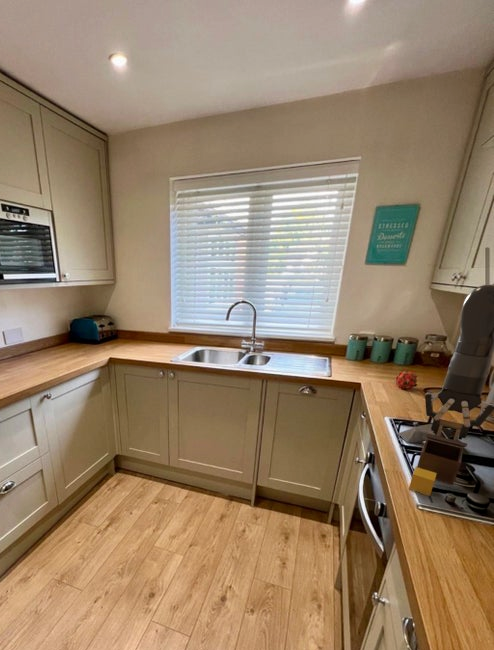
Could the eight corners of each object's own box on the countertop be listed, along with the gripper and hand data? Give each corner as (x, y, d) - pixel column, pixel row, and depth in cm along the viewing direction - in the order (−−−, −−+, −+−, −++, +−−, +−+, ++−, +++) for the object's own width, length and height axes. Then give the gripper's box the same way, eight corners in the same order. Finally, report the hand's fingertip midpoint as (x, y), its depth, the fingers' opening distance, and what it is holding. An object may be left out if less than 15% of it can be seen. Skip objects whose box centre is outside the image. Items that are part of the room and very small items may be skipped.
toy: (431, 487, 83) (436, 473, 82) (429, 496, 80) (434, 480, 78) (411, 481, 86) (415, 466, 84) (408, 489, 83) (412, 474, 81)
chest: (453, 485, 84) (460, 463, 82) (415, 473, 89) (421, 452, 87) (455, 468, 91) (463, 447, 89) (420, 458, 96) (426, 438, 94)
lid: (466, 446, 80) (473, 425, 80) (426, 436, 85) (432, 416, 85) (463, 447, 89) (469, 428, 89) (426, 438, 94) (431, 420, 94)
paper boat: (396, 439, 105) (389, 421, 112) (403, 453, 107) (396, 434, 114) (440, 427, 98) (431, 409, 105) (447, 442, 101) (437, 423, 108)
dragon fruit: (405, 387, 161) (404, 397, 153) (391, 375, 163) (389, 385, 154) (421, 376, 156) (421, 386, 147) (406, 364, 157) (405, 373, 148)
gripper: (506, 374, 78) (483, 438, 84) (433, 364, 86) (416, 423, 92) (508, 381, 72) (483, 449, 78) (429, 369, 81) (412, 432, 87)
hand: (447, 435), depth 85 cm, fingers closed on lid, 4 cm apart
